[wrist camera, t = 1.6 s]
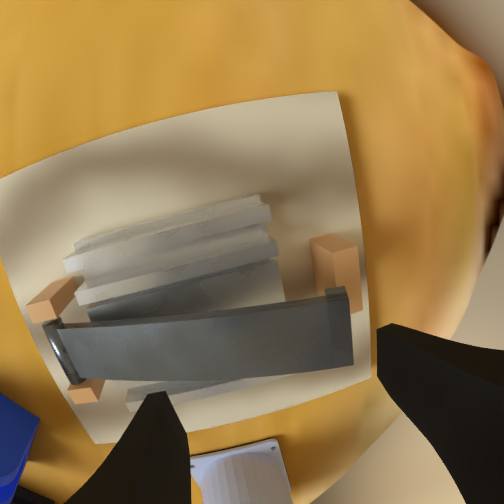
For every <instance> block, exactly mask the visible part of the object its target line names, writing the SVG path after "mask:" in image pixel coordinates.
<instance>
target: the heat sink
mask: <svg viewBox="0 0 504 504" xmlns="http://www.w3.org/2000/svg"><path fill="white" fill-rule="evenodd" d="M270 220H272V216H271V211H270V206H269V205H268V204H266V203H263V202H261V199H260V195H259V194H256V193H254V194H250V195H245V196H241V197H237V198H233V199H228V200H224V201H220V202H216V203H212V204H208V205H204V206H200V207H196V208H192V209H188V210H184V211H180V212H176V213H172V214H168V215H165V216H161V217H157V218H153V219H150V220H146V221H142V222H139V223H135V224H132V225H128V226H125V227H121V228H118V229H114V230H111V231H107V232H104V233H100V234H97V235H94V236H90V237H87V238H84V239H81V240H79V241H77V242H76V243H74V244H73V246H74V249H75V251H74V252H72V253H71V254H70V255H68V256H67V257H65V258H64V259H63V262H64V265H65V268H66V271H67V273H71V272H74V271H78V270H81V271H82V274H83V277H84V280H85V281H84V283H83V284H82V285H81V286H80V287H79V288H78V289H77V290H76V291H75V292H74V294H75V296H76V299H77V302H78V304H79V306H81V305H85V304H89V303H90V304H89V306H88V307H87V309H86V311H87V313H88V316H89V318H90V321H91V322H99V321H113V320H126V319H138V318H149V317H160V316H171V315H181V314H190V313H199V312H208V311H217V310H225V309H234V308H242V307H250V306H257V305H265V304H272V303H279V302H286V301H285V296H284V291H283V286H282V280H281V275H280V270H279V265H278V261H277V260H276V259H275V258H274V257H275V256H279V252H278V246H277V241H276V240H274V239H273V238H272V237H271V236H270V235H268V233H267V228H266V223H265V222H266V221H270ZM296 374H297V373H296ZM290 375H293V374H287V375H278V376H267V377H256V378H242V379H226V380H205V381H125V380H113V382H114V384H115V386H116V387H117V389H118V390H121V389H127V388H128V392H127V397H126V401H125V404H126V406H127V408H128V409H129V411H130V412H134V411H137V410H138V409H139V407H140V405H141V404H142V402H143V401H144V399H145V397H146V396H147V394H150V393H155V392H161V391H166V393H167V395H168V397H169V399H170V401H171V403H172V405H174V404H180V403H185V402H189V401H194V400H199V399H203V398H208V397H212V396H217V395H221V394H225V393H229V392H233V391H237V390H241V389H245V388H248V387H252V386H256V385H259V384H263V383H267V382H270V381H273V380H277V379H280V378H284V377H287V376H290Z"/></svg>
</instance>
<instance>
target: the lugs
mask: <svg viewBox="0 0 504 504" xmlns="http://www.w3.org/2000/svg"><path fill="white" fill-rule="evenodd" d="M309 244H310V250H311V256H312V263H313V269H314V275H315V282H316V289H317V296H318V297H319V296H325V290H324V289H327V288H333V287H339V286H345V288H346V291H347V294H348V298H349V304H350V314H353V313H356V312H359V311H362V310H363V301H362V289H361V277H360V267H359V257H358V248H357V246H356V245H354V244H352V243H350V242H348V241H346V240H344V239H342V238H339V237H337V236H335V235H333V234H331V233H330V234H327V235H323V236H319V237H315V238H311V239H309ZM76 290H77V286H76V284H75V281H74V278H73V277H69V278H66V279H62V280H59V281H55V282H51V283H50V284H49V285H48V286H47V287H46V288H45V289H43V290H42V291H41V292H40V293H39V294H38V295H37V296H36V297H34V298H33V299H32V300H31V301H30V302H29V303H28V304H27V305H26V308H27V311H28V313H29V316H30V318H31V320H32V323H33V324H34V323H39V322H43V321H47V320H52V319H56V318H58V316H59V315H60V314H61V313H62V312H63V310H64V309H65V308H66V307H67V306H68V304H69V303H70V302H71V301H72V300H73V299H74V297H75V294H74V292H75V291H76ZM104 383H105V380H103V379H88V378H87V379H86V380H85V381H84V382H82V383H80V384H78V385H72V384H70V385H69V387H68V389H67V391H68V393H69V395H70V397H71V398H72V400H73V402H74V403H75V404H81V403H90V402H97V401H99V398H100V395H101V392H102V389H103V386H104Z"/></svg>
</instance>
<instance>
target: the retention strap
mask: <svg viewBox="0 0 504 504" xmlns="http://www.w3.org/2000/svg"><path fill="white" fill-rule="evenodd" d="M324 290H325V296H319V297H313V298H306V299H300V300H293V301H286V302H279V303H272V304H265V305H257V306H250V307H242V308H234V309H225V310H217V311H208V312H199V313H190V314H181V315H171V316H160V317H149V318H138V319H126V320H113V321H99V322H83V323H65V324H64V323H63V321H62V319H61V317H60V316H58V318H56V319H52V320H47V321H45V322H43V323H42V328H43V330H44V332H45V335H46V337H47V339H48V341H49V343H50V345H51V347H52V349H53V351H54V353H55V355H56V357H57V359H58V361H59V363H60V365H61V367H62V369H63V371H64V373H65V375H66V376H67V378H68V380H69V382H70V384H72V385H78V384H80V383H82V382H84V381H85V380H86V379H87V378H88V379H103V380H125V381H205V380H226V379H242V378H256V377H267V376H278V375H287V374H296V373H304V372H312V371H320V370H327V369H334V368H340V367H346V366H352V365H354V357H353V341H352V328H351V315H350V304H349V298H348V294H347V291H346V288H345V286H339V287H333V288H327V289H324Z"/></svg>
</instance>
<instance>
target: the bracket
mask: <svg viewBox="0 0 504 504" xmlns="http://www.w3.org/2000/svg"><path fill="white" fill-rule="evenodd" d="M39 420H40V418H38V417H36V416H35V415H33V414H31V413H30V412H28V411H27V410H25V409H24V408H22V407H20V406H19V405H17V404H16V403H14V402H13V401H11V400H10V399H9V398H7V397H6V396H4V395H3V394H1V393H0V504H10V503H11V501H12V499H13V496H14V494H15V491H16V488H17V485H18V483H19V480H20V477H21V475H22V472H23V470H24V467H25V465H26V462H27V459H28V456H29V452H30V449H31V445H32V442H33V439H34V435H35V432H36V429H37V426H38V423H39Z"/></svg>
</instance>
